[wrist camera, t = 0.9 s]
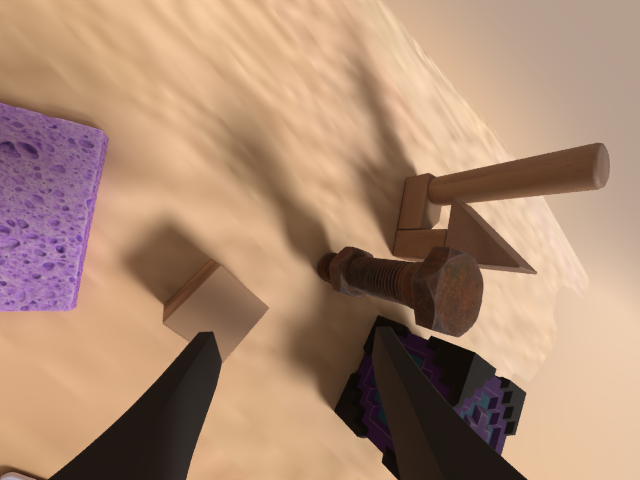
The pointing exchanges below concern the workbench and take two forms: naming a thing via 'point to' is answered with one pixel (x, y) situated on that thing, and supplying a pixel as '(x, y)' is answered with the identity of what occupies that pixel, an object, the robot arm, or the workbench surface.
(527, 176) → the wooden block
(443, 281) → the bolt
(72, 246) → the sponges
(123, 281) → the workbench surface
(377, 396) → the energy cube
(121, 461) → the robot arm
